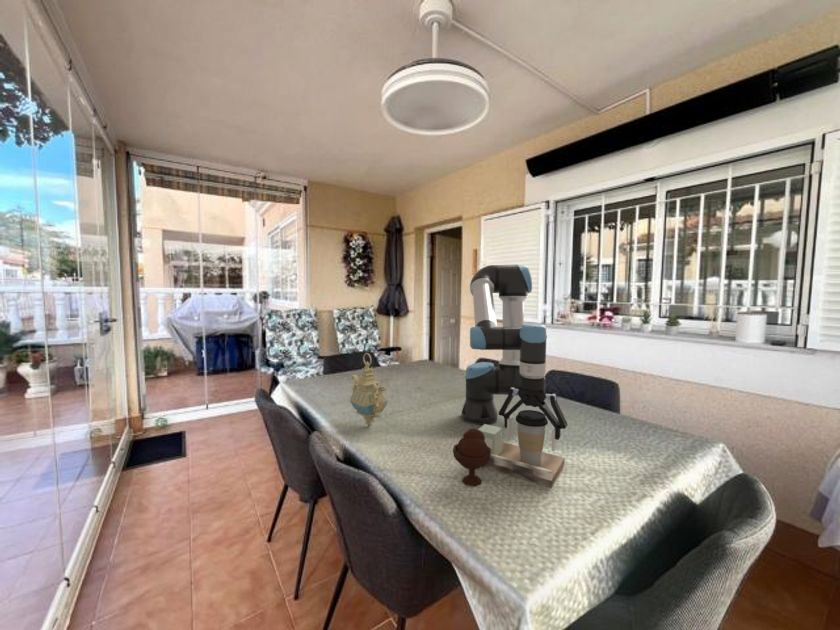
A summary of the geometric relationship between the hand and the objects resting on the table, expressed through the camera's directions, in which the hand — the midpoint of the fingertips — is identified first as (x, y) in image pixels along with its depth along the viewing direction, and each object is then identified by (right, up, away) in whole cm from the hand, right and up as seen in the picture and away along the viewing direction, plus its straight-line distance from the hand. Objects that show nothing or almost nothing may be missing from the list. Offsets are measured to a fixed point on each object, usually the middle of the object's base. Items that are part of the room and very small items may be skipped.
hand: (531, 443), depth 109 cm
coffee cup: (0, -6, 0) cm, 6 cm away
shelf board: (-3, -8, +3) cm, 9 cm away
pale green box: (-12, -5, +6) cm, 14 cm away
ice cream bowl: (-19, -9, -6) cm, 22 cm away
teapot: (-55, -6, +34) cm, 65 cm away
